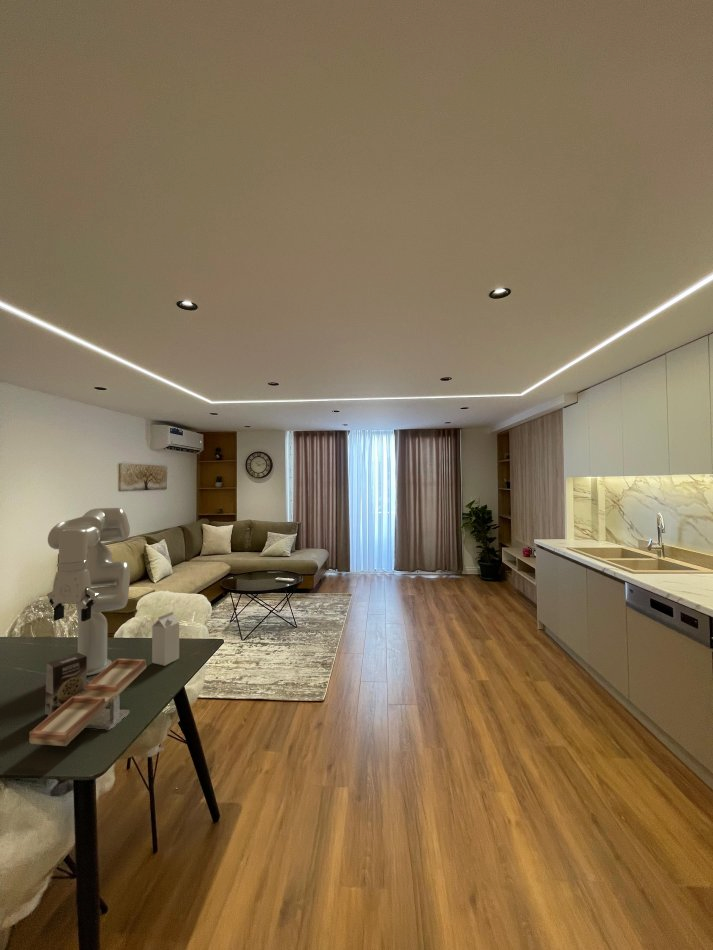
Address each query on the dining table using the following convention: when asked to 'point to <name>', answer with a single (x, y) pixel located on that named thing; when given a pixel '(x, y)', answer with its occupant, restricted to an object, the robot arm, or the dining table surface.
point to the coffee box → (64, 680)
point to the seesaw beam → (86, 703)
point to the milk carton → (165, 639)
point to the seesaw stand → (108, 715)
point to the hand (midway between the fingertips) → (72, 619)
